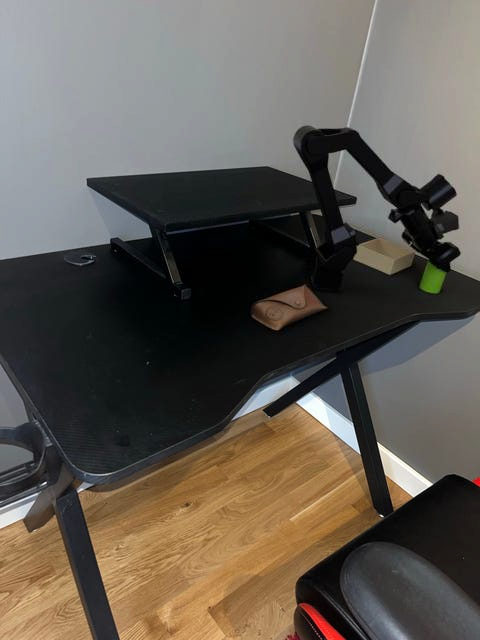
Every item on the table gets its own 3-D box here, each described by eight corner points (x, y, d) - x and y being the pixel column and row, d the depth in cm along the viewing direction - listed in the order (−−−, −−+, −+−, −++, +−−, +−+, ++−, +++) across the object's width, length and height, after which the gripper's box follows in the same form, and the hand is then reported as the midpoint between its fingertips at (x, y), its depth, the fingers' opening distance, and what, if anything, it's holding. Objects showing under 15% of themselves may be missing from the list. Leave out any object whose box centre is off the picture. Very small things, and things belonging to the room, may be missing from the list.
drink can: (423, 292, 119) (438, 247, 113) (416, 283, 124) (431, 240, 117) (442, 294, 119) (459, 250, 113) (435, 285, 124) (451, 242, 117)
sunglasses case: (278, 331, 93) (270, 300, 92) (255, 333, 99) (247, 303, 98) (330, 307, 105) (323, 279, 104) (306, 310, 110) (300, 283, 109)
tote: (389, 275, 127) (394, 260, 124) (353, 259, 134) (356, 245, 131) (410, 265, 134) (415, 251, 132) (375, 251, 141) (379, 237, 139)
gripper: (468, 214, 101) (492, 261, 109) (426, 190, 117) (450, 233, 124) (424, 245, 104) (451, 290, 111) (389, 218, 119) (415, 259, 127)
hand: (442, 266), depth 118 cm, fingers open, 6 cm apart
